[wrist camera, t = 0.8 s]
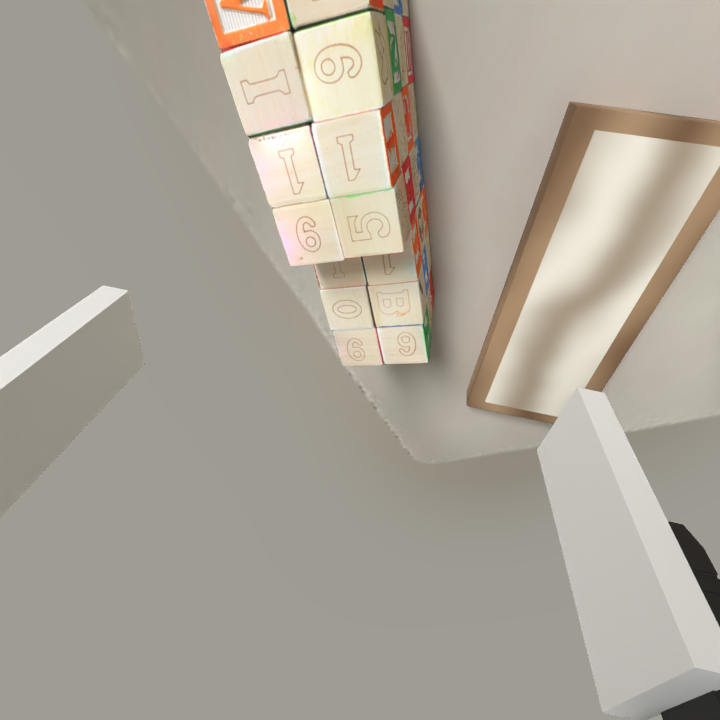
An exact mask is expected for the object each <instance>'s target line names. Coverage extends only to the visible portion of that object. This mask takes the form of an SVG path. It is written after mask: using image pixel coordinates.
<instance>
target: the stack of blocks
mask: <svg viewBox="0 0 720 720" xmlns="http://www.w3.org/2000/svg"><path fill="white" fill-rule="evenodd" d="M204 2H205V5H206V8H207V12H208V15H209V18H210V21H211V24H212V27H213V30H214V33H215V36H216V39H217V43H218V45H219V47H220V49H221V50H222V53H221V56H220V57H221V63H222V66H223V69H224V71H225V75H226V78H227V81H228V84H229V86H230V89H231V92H232V95H233V98H234V101H235V104H236V107H237V110H238V113H239V116H240V119H241V122H242V125H243V127H244V130H245V133H246V135H247V136H249V138H250V139H249V148H250V151H251V154H252V158H253V160H254V163H255V166H256V169H257V172H258V175H259V178H260V181H261V183H262V186H263V189H264V192H265V195H266V198H267V201H268V203H269V205H270V206H271V208H272V212H273V217H274V220H275V222H276V225H277V228H278V231H279V234H280V237H281V240H282V243H283V246H284V249H285V252H286V255H287V258H288V260H289V264H290V266H291V267H296V266H303V265H311V264H313V265H314V269H315V272H316V276H317V279H318V283H319V286H320V294H321V298H322V302H323V305H324V309H325V312H326V316H327V319H328V323H329V326H330V329H331V330H332V331H333V335H334V339H335V343H336V346H337V350H338V353H339V357H340V360H341V364H342V366H366V365H383V364H408V363H428V361H429V354H430V345H431V323H432V308H433V300H434V291H433V283H432V274H431V252H430V241H429V231H428V219H427V208H426V197H425V186H424V184H423V177H422V166H421V155H420V144H419V137H418V126H417V115H416V105H415V94H414V85H413V81H414V72H413V60H412V49H411V38H410V27H409V10H408V0H204Z"/></svg>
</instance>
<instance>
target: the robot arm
mask: <svg viewBox="0 0 720 720" xmlns="http://www.w3.org/2000/svg"><path fill="white" fill-rule="evenodd" d="M144 364H145V363H144V358H143V354H142V349H141V345H140V340H139V336H138V331H137V327H136V322H135V318H134V314H133V309H132V304H131V299H130V295H129V291H127V290H122V289H118V288H113V287H108V286H104V285H103V286H102V287H100V288H99V289H97V290H96V291H94V292H93V293H92V294H90V295H89V296H87V297H86V298H84V299H83V300H81V301H80V302H79V303H77V304H76V305H74V306H73V307H72V308H70V309H69V310H67V311H66V312H64V313H63V314H62V315H60V316H58V317H57V318H56V319H54V320H53V321H51V322H50V323H49V324H47V325H46V326H44V327H43V328H41V329H40V330H38V331H37V332H35V333H34V334H33V335H31V336H30V337H28V338H27V339H25V340H24V341H23V342H21V343H20V344H18V345H17V346H15V347H14V348H13V349H11V350H10V351H8V352H7V353H5V354H4V355H2V356H1V357H0V518H1V517H2V515H3V514H4V513H5V512H6V511H7V510H8V509H9V508H10V507H11V506H12V505H13V504H14V502H16V501H17V499H18V498H19V497H20V496H21V495H22V494H23V493H24V492H25V491H26V490H27V489H28V488H29V487H30V486H31V484H33V483H34V481H35V480H36V479H37V478H38V477H39V476H40V475H41V474H42V473H43V472H44V471H45V470H46V469H47V467H49V465H50V464H51V463H52V462H53V461H54V460H55V459H56V458H57V457H58V456H59V455H60V454H61V452H63V451H64V449H65V448H66V447H67V446H68V445H69V444H70V443H71V442H72V441H73V440H74V439H75V438H76V437H77V436H78V435H79V433H80V432H81V431H82V430H83V429H84V428H85V427H86V426H87V425H88V424H89V423H90V422H91V421H92V420H93V419H94V418H95V416H97V414H98V413H99V412H100V411H101V410H102V409H103V408H104V407H105V406H106V405H107V404H108V403H109V402H110V401H111V400H112V399H113V397H114V396H115V395H116V394H117V393H118V392H119V391H120V390H121V389H122V388H123V387H124V386H125V385H126V383H127V382H128V381H129V380H130V379H131V378H132V377H133V376H134V375H135V374H136V373H137V372H138V371H139V370H140V369H141V368H142V367H143V365H144ZM537 453H538V457H539V460H540V465H541V468H542V473H543V476H544V481H545V484H546V489H547V493H548V496H549V500H550V505H551V509H552V513H553V517H554V521H555V524H556V529H557V532H558V537H559V541H560V545H561V549H562V553H563V557H564V561H565V564H566V569H567V573H568V577H569V581H570V585H571V589H572V593H573V597H574V600H575V605H576V609H577V612H578V617H579V621H580V624H581V629H582V633H583V637H584V641H585V645H586V649H587V653H588V657H589V661H590V665H591V669H592V673H593V676H594V681H595V684H596V689H597V693H598V697H599V701H600V705H601V709H602V712H603V713H607V714H611V715H615V716H619V717H624V718H628V719H632V720H647V719H650V718H652V717H654V716H657V715H659V714H661V715H662V718H663V720H720V579H718V578H717V575H718V574H717V572H716V570H715V568H714V566H713V565H712V563H711V561H710V559H709V557H708V555H707V553H706V552H705V550H704V548H703V547H702V546H701V545H700V544H699V542H698V541H697V540H696V539H695V538H694V537H693V536H692V534H691V533H690V532H689V531H688V530H687V529H686V528H685V526H684V525H682V524H678V523H673V522H668V521H667V519H666V517H665V515H664V513H663V511H662V509H661V507H660V505H659V503H658V501H657V499H656V497H655V495H654V493H653V491H652V488H651V486H650V484H649V482H648V481H647V478H646V476H645V474H644V472H643V470H642V468H641V466H640V464H639V462H638V460H637V458H636V456H635V454H634V452H633V450H632V448H631V446H630V444H629V442H628V440H627V438H626V435H625V433H624V431H623V429H622V427H621V425H620V423H619V421H618V419H617V417H616V415H615V413H614V411H613V409H612V407H611V405H610V403H609V401H608V399H607V397H606V395H605V393H603V392H598V391H593V390H589V389H584V388H579V387H577V389H576V390H575V392H574V393H573V395H572V396H571V398H570V400H569V401H568V403H567V404H566V406H565V407H564V409H563V410H562V412H561V414H560V415H559V417H558V418H557V420H556V421H555V423H554V424H553V426H552V427H551V429H550V431H549V432H548V434H547V435H546V437H545V438H544V440H543V441H542V443H541V444H540V446H539V448H538V449H537Z"/></svg>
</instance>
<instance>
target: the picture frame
mask: <svg viewBox="0 0 720 720" xmlns="http://www.w3.org/2000/svg"><path fill="white" fill-rule="evenodd" d="M719 209H720V121H715V120H708V119H700V118H692V117H685V116H677V115H669V114H661V113H654V112H646V111H638V110H631V109H623V108H615V107H607V106H600V105H592V104H584V103H577V102H570V103H569V105H568V108H567V111H566V114H565V117H564V119H563V122H562V125H561V128H560V131H559V134H558V136H557V139H556V142H555V145H554V148H553V150H552V153H551V156H550V159H549V162H548V164H547V167H546V170H545V173H544V176H543V179H542V181H541V184H540V187H539V190H538V193H537V195H536V198H535V201H534V204H533V207H532V209H531V212H530V215H529V218H528V221H527V224H526V226H525V229H524V232H523V235H522V238H521V240H520V243H519V246H518V249H517V252H516V254H515V257H514V260H513V263H512V266H511V269H510V271H509V274H508V277H507V280H506V283H505V285H504V288H503V291H502V294H501V297H500V299H499V302H498V305H497V308H496V311H495V314H494V316H493V319H492V322H491V325H490V328H489V330H488V333H487V336H486V339H485V342H484V344H483V347H482V350H481V353H480V356H479V358H478V361H477V364H476V367H475V370H474V373H473V375H472V378H471V381H470V384H469V387H468V389H467V406H470V407H475V408H480V409H485V410H490V411H495V412H500V413H504V414H509V415H514V416H519V417H524V418H529V419H534V420H538V421H543V422H548V423H553V424H554V423H555V421H556V420H557V418H558V417H559V415H560V414H561V412H562V410H563V409H564V407H565V406H566V404H567V403H568V401H569V400H570V398H571V396H572V395H573V393H574V392H575V390H576V389H577V387H579V388H584V389H589V390H593V391H598V392H601V391H602V390H603V388H604V387H605V385H606V383H607V382H608V380H609V379H610V377H611V376H612V374H613V373H614V371H615V370H616V368H617V367H618V365H619V363H620V362H621V360H622V359H623V357H624V356H625V354H626V353H627V351H628V350H629V348H630V346H631V345H632V343H633V342H634V340H635V339H636V337H637V336H638V334H639V333H640V331H641V329H642V328H643V326H644V325H645V323H646V322H647V320H648V319H649V317H650V316H651V314H652V312H653V311H654V309H655V308H656V306H657V305H658V303H659V302H660V300H661V299H662V297H663V295H664V294H665V292H666V291H667V289H668V288H669V286H670V285H671V283H672V282H673V280H674V278H675V277H676V275H677V274H678V272H679V271H680V269H681V268H682V266H683V265H684V263H685V262H686V260H687V258H688V257H689V255H690V254H691V252H692V251H693V249H694V248H695V246H696V245H697V243H698V241H699V240H700V238H701V237H702V235H703V234H704V232H705V231H706V229H707V228H708V226H709V224H710V223H711V221H712V220H713V218H714V217H715V215H716V214H717V212H718V211H719Z"/></svg>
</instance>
